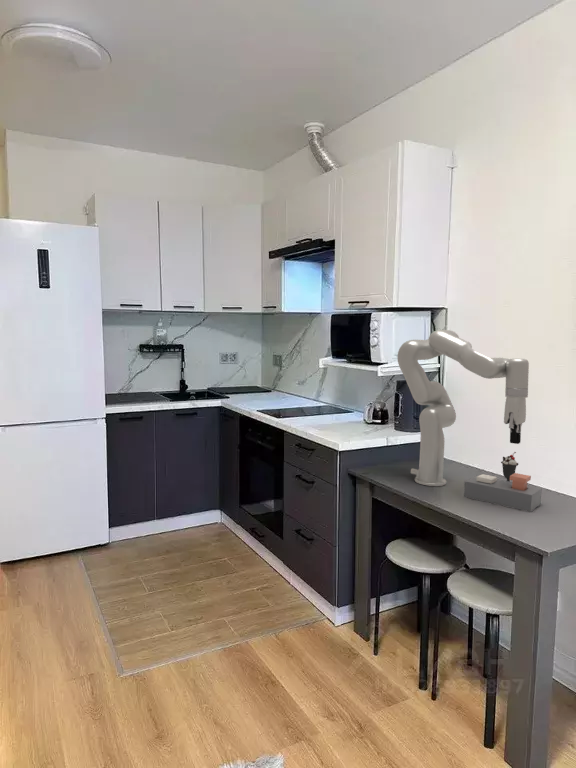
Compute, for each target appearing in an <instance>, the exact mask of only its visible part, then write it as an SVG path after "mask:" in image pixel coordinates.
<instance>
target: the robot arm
mask: <svg viewBox="0 0 576 768" xmlns="http://www.w3.org/2000/svg"><path fill="white" fill-rule="evenodd" d="M442 355H444V356H446V357H448V358H450V359H451V360H454V361H456V362H458V363H459V364H460V365H461V366H462V367H463V368H465V369H466V370H467V371H469V372H471V373H473V374H475V375H477V376H479V377H482V378H483V379H491V380H492V379H501V378H505V387H504V388H505V390H504V392H505V402H504V412H503V413H504V415H503V423H504V424H505V425H508V428H509V443H510V444H515V445H520V444H521V440H522V439H521V435H522V425H523V424H524V423H526V418H527V417H526V415H527V404H526V403H527V400H526V398H528V397H529V375H530V374H529V372H530V370H529V367H530V363H529V361H528V359H525V358H504V357H488V356H486V355H484V354H482V353H480V352H478V351H476V350H474V349H473V346H472V343H471V342H469V341H467V340H465V339H463V338H461V337H460V336H459V334H458V333H456V331H453V330H451V329H437V330H435V331H432V332H431V333H430V334H429V337H428V338H427V339H409V340H407V341H405V342H403V343H402V344H401V346H400V347H399V349H398V351H397V357H396V358H397V364H398V366H399V369H400V371H401V373H402V375H403V377H404V378H405V381H406V384H407V386H408V388H409V391H410V393H411V396H412V398H413V400H414V401H415V403H416V404H418V405H420V406H427V405H429V406H427V407H425V408H424V409H422V410H421V412H420V413H419V417H418V418H419V419H418V421H419V429H420V431H419V432H420V447H419V462H418V463H419V464H418V465H419V466H418V469H417V468H411V469H410V474H411V475H415V477H414V481H415V483H417V484H419V485H423V486H427V487H443V486H445V485H446V484H447V479H445V478H443V477H444V476H443V475H444V473H443V472H444V460H445V459H444V456H445V435H444V430H443V429H444V428H445V429H446V428H449V427H451V426H452V425H453V424H454V423H455V422H456V420H457V419H456V418H457V414H456V410H455V408H454V405H453V403H452V400H451V399H450V397H449V393H448V392H447V390H446V388H445V387H444V386H443V384H441V383H440V382H438V381H435V380H434V381H430V379H429V378H428V376H427V374H426V371H425V370H424V368H423V367H422V365H421V364H420V363H419V361H426V360H428V361H429V360H431V359H434V358H437V357H440V356H442Z"/></svg>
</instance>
